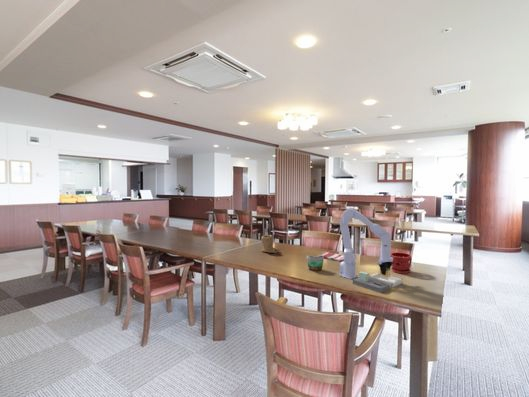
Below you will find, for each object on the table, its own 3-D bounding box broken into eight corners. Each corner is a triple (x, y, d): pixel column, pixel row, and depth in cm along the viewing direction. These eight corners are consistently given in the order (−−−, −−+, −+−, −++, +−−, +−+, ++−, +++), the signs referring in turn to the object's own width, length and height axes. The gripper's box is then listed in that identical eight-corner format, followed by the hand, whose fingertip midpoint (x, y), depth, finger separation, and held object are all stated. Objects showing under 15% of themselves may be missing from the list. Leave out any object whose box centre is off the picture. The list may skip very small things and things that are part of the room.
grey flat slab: (352, 283, 169) (352, 279, 169) (361, 280, 175) (361, 276, 174) (380, 293, 155) (380, 288, 155) (389, 289, 160) (389, 284, 160)
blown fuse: (379, 278, 174) (379, 267, 173) (382, 277, 175) (382, 266, 175) (387, 280, 170) (387, 269, 169) (390, 279, 171) (390, 268, 171)
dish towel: (344, 263, 214) (344, 259, 214) (317, 257, 229) (317, 254, 229) (353, 258, 227) (353, 255, 227) (327, 254, 242) (327, 250, 242)
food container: (306, 271, 192) (306, 257, 192) (306, 268, 198) (306, 254, 198) (324, 272, 191) (324, 257, 190) (324, 269, 197) (324, 255, 196)
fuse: (358, 283, 169) (358, 272, 169) (361, 282, 171) (361, 271, 171) (366, 285, 165) (366, 274, 165) (368, 284, 167) (369, 273, 167)
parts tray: (367, 280, 175) (368, 276, 175) (378, 276, 182) (378, 272, 182) (392, 287, 163) (392, 283, 163) (402, 283, 170) (402, 279, 170)
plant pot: (392, 267, 201) (393, 251, 201) (413, 271, 193) (413, 254, 192) (387, 272, 191) (387, 254, 191) (408, 276, 183) (409, 258, 182)
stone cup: (258, 252, 245) (258, 235, 244) (266, 249, 254) (266, 233, 254) (272, 255, 236) (272, 237, 235) (280, 252, 246) (280, 235, 245)
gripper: (385, 255, 164) (385, 278, 165) (398, 251, 173) (397, 273, 174) (374, 252, 169) (373, 274, 170) (387, 249, 178) (386, 270, 179)
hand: (385, 273), depth 172 cm, fingers closed on blown fuse, 3 cm apart
